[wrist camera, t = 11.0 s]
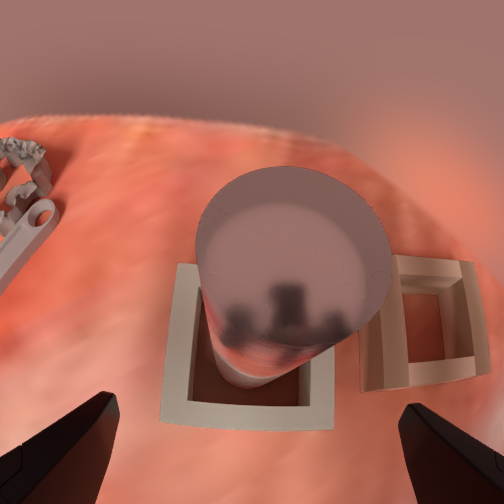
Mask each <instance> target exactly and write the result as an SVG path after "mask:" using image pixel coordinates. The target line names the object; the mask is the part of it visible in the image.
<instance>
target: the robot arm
mask: <svg viewBox="0 0 504 504" xmlns="http://www.w3.org/2000/svg"><path fill="white" fill-rule="evenodd" d="M119 418H120V412H119V407H118V403H117V399H116V395H115V394H114V393H110V392H106V391H101V392H99V393H98V394H96V395H95V396H93V397H92V398H91V399H89V400H88V401H86V402H85V403H83V404H82V405H80V406H79V407H77V408H76V409H74V410H73V411H71V412H70V413H68V414H67V415H65V416H64V417H62V418H61V419H59V420H58V421H56V422H55V423H53V424H52V425H50V426H49V427H47V428H45V429H44V430H42V431H41V432H39V433H38V434H36V435H35V436H33V437H32V438H30V439H29V440H27V441H25V442H24V443H22V446H21V445H19V446H17V447H16V448H14V449H13V450H11V451H9V452H8V453H6V454H4V455H3V456H1V457H0V504H95V502H96V499H97V496H98V493H99V490H100V487H101V484H102V482H103V479H104V476H105V473H106V470H107V467H108V464H109V461H110V458H111V454H112V449H113V444H114V440H115V436H116V431H117V427H118V423H119ZM398 429H399V433H400V438H401V443H402V448H403V453H404V458H405V462H406V466H407V469H408V473H409V476H410V479H411V482H412V486H413V489H414V492H415V496H416V499H417V502H418V504H504V456H503V455H501V454H499V453H498V452H496V451H494V450H493V449H491V448H489V447H488V446H486V445H485V444H483V443H481V442H480V441H478V440H477V439H475V438H473V437H472V436H470V435H469V434H467V433H466V432H464V431H462V430H461V429H459V428H458V427H456V426H455V425H453V424H451V423H450V422H448V421H447V420H445V419H444V418H442V417H441V416H439V415H438V414H436V413H434V412H433V411H431V410H430V409H428V408H427V407H425V406H424V405H422V404H421V403H412V404H408V405H407V406H406V408H405V410H404V412H403V414H402V416H401V418H400V420H399V423H398Z"/></svg>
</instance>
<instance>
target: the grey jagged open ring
mask: <svg viewBox="0 0 504 504" xmlns="http://www.w3.org/2000/svg"><path fill="white" fill-rule="evenodd" d="M45 152H46V149H44V148H42V145H39V144H38V143H37V142H33V141H32V140H27V141H24V140H18V139H16V138H15V137H9V138H3V139H1V138H0V159H3V158H5V157H6V158H7V160H8V161H9V163H10V164H11V166H12V167H19V166H20V165H22V164H23V165H24V167H25V168H26V170H27V171H28V173H29V174H30V175H31V178H32V180H33V181H27V182H26V183H25V184H24V185H17V186H15V187H13V188H12V189H11V190H10V191H9V192H8V194H7V195H6V198H5V202H6V205H7V206H9V207H13V206H14V207H13V208H12V209H11V210H10V211H9V212H6V211H5V210H3V211H0V235H1V236H2V237H6V235H7V234H8V233H9V232H10V231H11V229H12V228H13V227H14V226H15V225H16V223H17V222H18V221H19V220H20V219H21V218H22V216H23V215H24V214H25V212H26V209H27V207H28V205H29V203H30V202H31V201H32V200H33V199H35V198H37V197H40V196H44V197H46V196H47V195H48V193H49V192H50V191H51V190H52V189H53V186H52V185H51V183H50V180H51V177H52V175H53V174H52V172H51V169H50V166H49V164H48V161H47V160H46V159H45V157H43V155H44V154H45ZM6 183H7V176H6V175H5V173H4V172H3V170H2V169H1V168H0V192H1V191H2V190H3V188H4V187H5V185H6Z"/></svg>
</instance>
